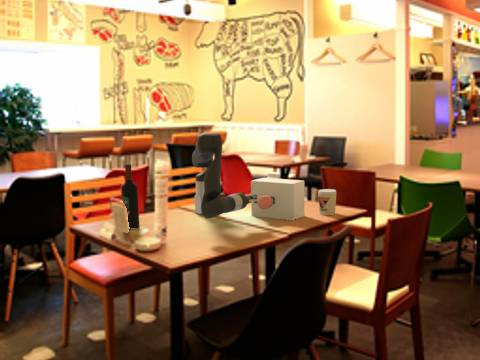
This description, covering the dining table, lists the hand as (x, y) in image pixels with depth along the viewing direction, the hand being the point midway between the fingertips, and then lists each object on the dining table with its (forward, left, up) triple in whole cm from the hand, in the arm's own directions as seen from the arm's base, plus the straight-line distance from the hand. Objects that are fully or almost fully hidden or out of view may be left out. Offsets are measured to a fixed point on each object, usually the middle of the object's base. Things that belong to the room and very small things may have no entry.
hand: (255, 196), depth 262 cm
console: (+20, +7, -13) cm, 25 cm away
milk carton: (+30, +22, -14) cm, 40 cm away
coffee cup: (+42, -6, -14) cm, 44 cm away
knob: (+11, +4, -8) cm, 14 cm away
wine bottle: (-48, +34, -14) cm, 61 cm away
